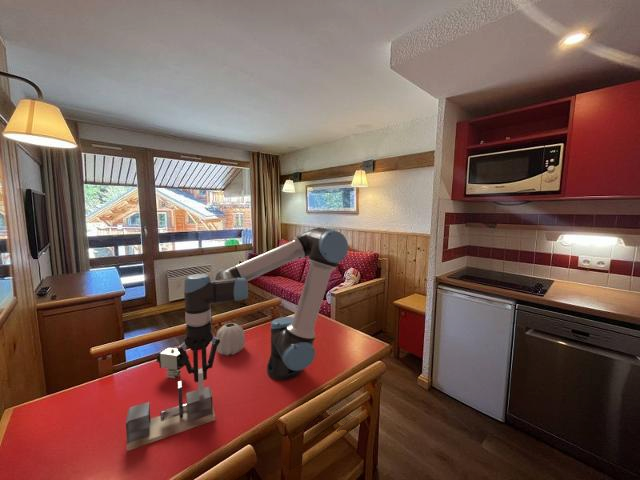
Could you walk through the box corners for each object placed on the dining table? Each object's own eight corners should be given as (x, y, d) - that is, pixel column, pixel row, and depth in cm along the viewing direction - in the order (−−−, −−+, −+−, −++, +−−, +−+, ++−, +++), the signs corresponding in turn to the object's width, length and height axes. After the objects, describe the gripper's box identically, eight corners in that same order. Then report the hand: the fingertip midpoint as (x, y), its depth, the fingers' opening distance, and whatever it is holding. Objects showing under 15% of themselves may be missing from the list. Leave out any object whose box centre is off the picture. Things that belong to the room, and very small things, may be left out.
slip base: (211, 402, 96) (210, 381, 95) (215, 419, 88) (214, 397, 87) (130, 428, 84) (128, 404, 83) (126, 451, 76) (124, 425, 75)
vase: (249, 353, 129) (248, 326, 128) (219, 362, 121) (218, 334, 120) (240, 341, 140) (239, 317, 139) (212, 348, 133) (211, 323, 131)
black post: (207, 403, 93) (206, 372, 92) (209, 412, 89) (208, 380, 88) (161, 418, 86) (159, 385, 85) (160, 428, 82) (159, 394, 81)
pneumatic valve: (182, 381, 107) (180, 353, 106) (157, 377, 109) (155, 350, 108) (191, 373, 112) (190, 346, 111) (167, 369, 115) (166, 343, 113)
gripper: (217, 314, 93) (219, 377, 96) (175, 321, 87) (178, 388, 89) (221, 322, 86) (223, 389, 89) (176, 330, 80) (179, 402, 83)
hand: (200, 389), depth 89 cm, fingers closed
